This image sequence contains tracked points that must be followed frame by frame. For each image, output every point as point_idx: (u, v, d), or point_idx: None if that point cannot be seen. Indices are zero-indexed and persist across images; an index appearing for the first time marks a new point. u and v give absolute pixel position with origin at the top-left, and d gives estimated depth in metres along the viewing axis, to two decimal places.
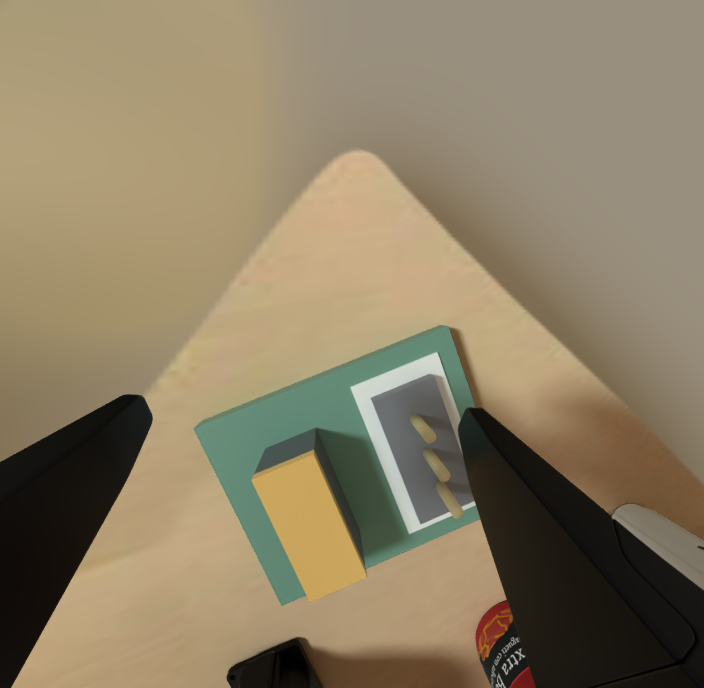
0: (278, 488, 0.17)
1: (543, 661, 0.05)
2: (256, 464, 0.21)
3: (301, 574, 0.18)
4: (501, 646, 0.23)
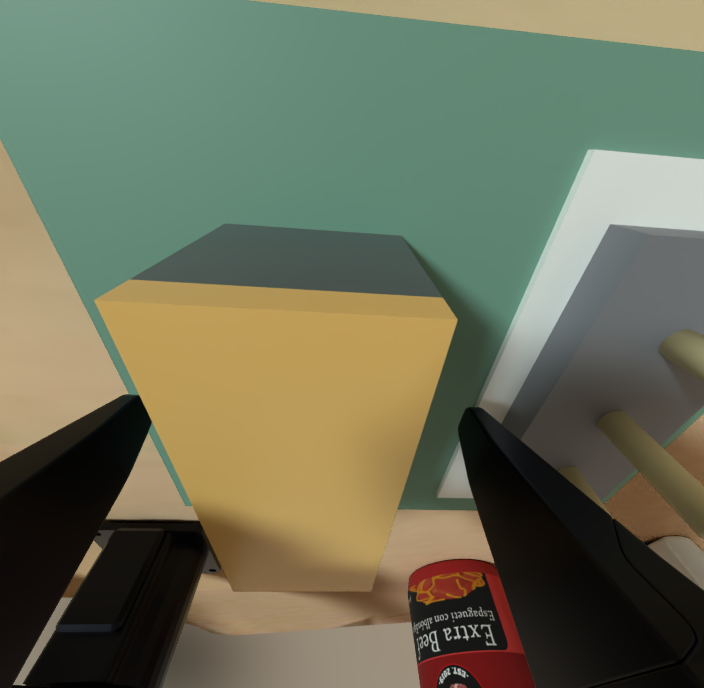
0: (230, 385, 0.04)
1: (543, 661, 0.05)
2: None
3: (231, 562, 0.07)
4: (452, 608, 0.19)
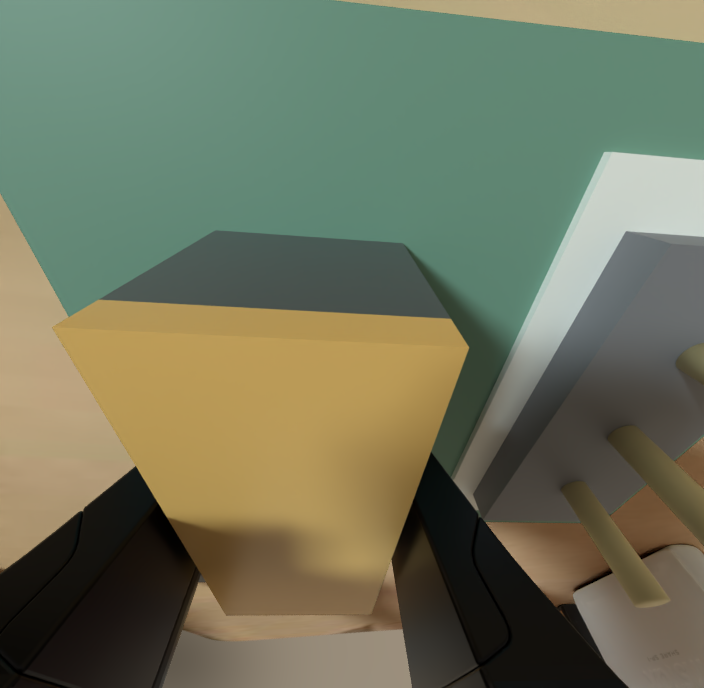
0: (213, 416, 0.03)
1: (414, 663, 0.05)
2: None
3: (222, 589, 0.07)
4: None
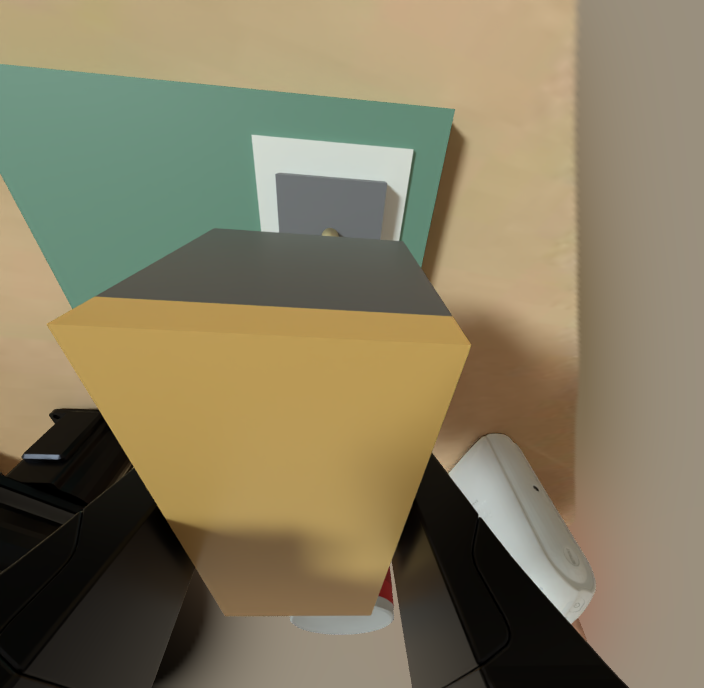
0: (211, 415, 0.03)
1: (415, 663, 0.05)
2: (74, 192, 0.13)
3: (221, 589, 0.07)
4: None
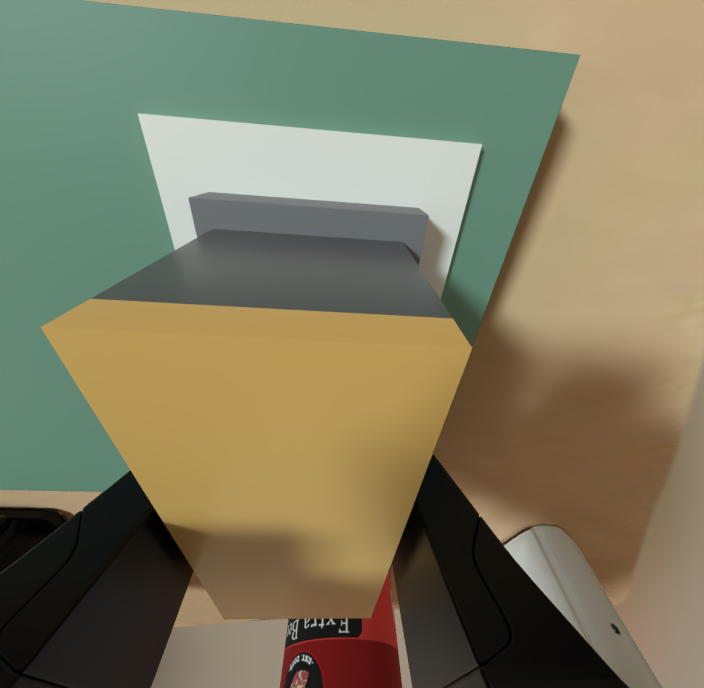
0: (209, 419, 0.03)
1: (415, 663, 0.05)
2: None
3: (220, 592, 0.07)
4: None
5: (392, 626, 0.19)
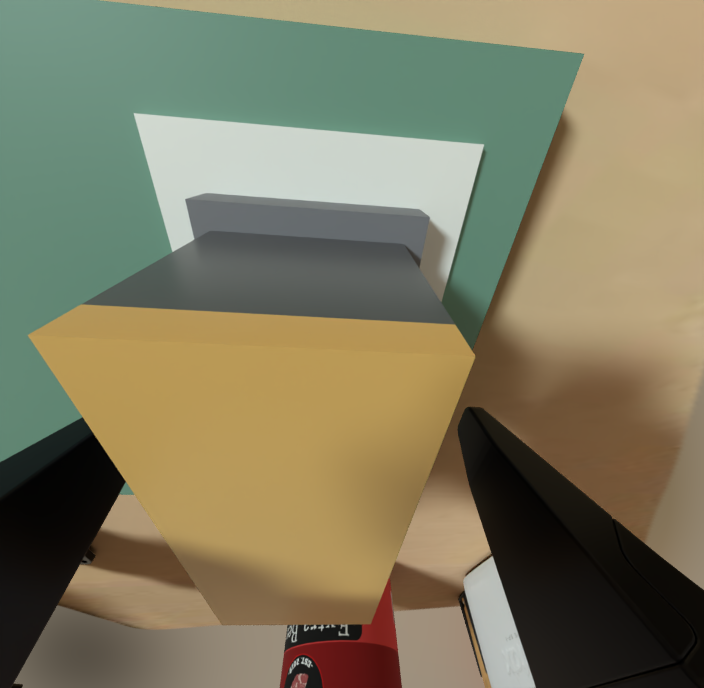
0: (203, 428, 0.03)
1: (543, 661, 0.05)
2: None
3: (218, 599, 0.06)
4: None
5: (392, 628, 0.19)
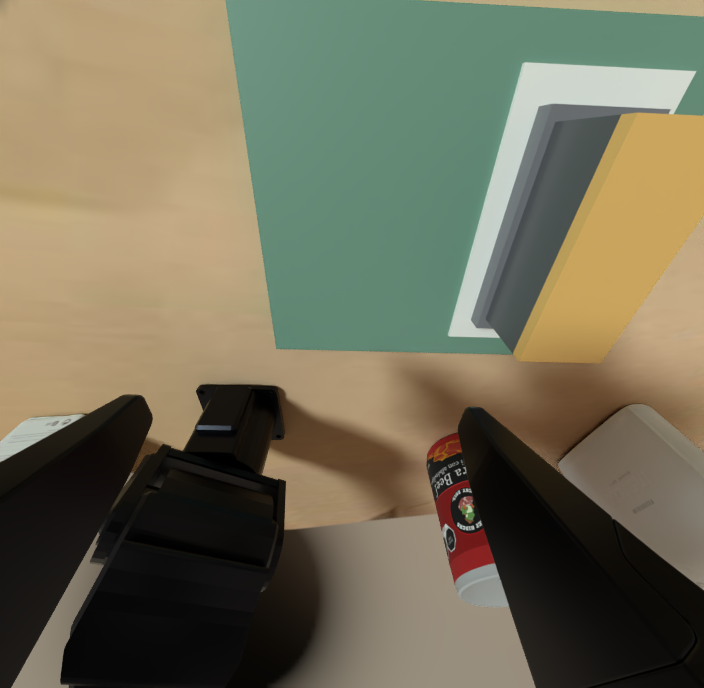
0: (653, 162, 0.09)
1: (543, 661, 0.05)
2: (311, 140, 0.13)
3: (542, 324, 0.12)
4: (461, 457, 0.25)
5: None
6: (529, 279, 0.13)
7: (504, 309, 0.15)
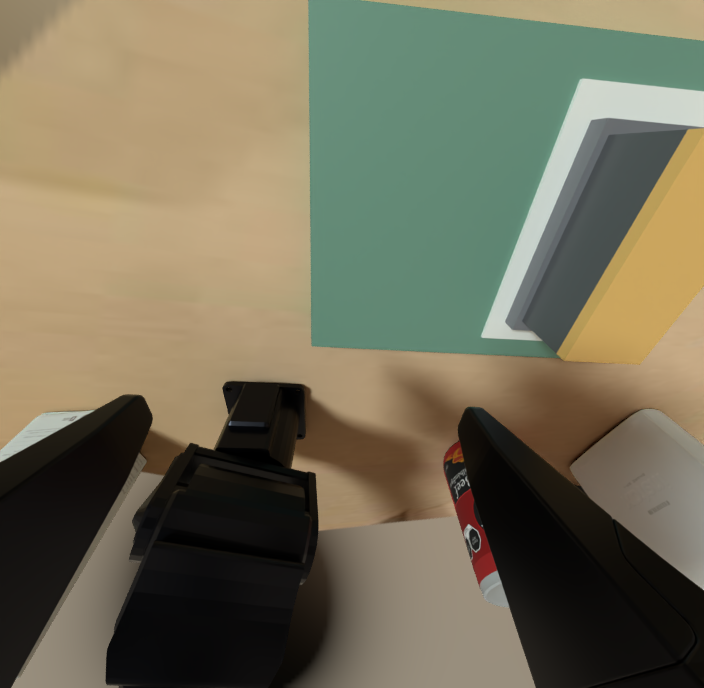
0: None
1: (543, 661, 0.05)
2: (372, 142, 0.13)
3: (591, 324, 0.13)
4: None
5: None
6: (577, 282, 0.13)
7: (546, 311, 0.15)
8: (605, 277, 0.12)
